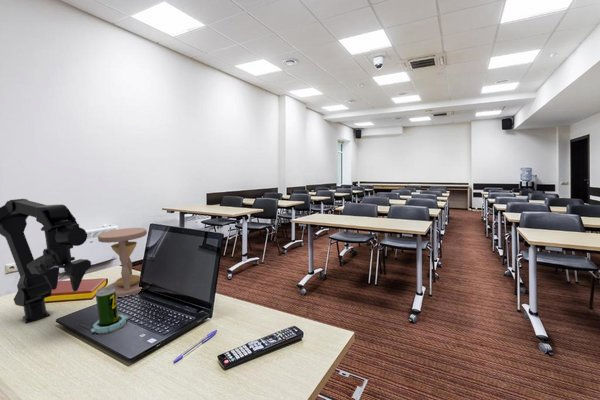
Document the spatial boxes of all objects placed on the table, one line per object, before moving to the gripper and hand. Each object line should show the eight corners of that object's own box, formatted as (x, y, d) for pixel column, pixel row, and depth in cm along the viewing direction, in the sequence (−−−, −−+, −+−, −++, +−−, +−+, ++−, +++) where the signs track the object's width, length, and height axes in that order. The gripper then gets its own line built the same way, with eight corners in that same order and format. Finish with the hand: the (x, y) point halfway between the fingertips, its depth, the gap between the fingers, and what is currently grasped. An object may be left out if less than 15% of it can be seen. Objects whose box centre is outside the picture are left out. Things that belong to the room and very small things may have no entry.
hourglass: (114, 284, 134) (107, 229, 131) (156, 279, 138) (150, 226, 135) (97, 301, 117) (89, 239, 114) (146, 294, 121) (139, 234, 118)
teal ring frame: (87, 328, 96) (87, 323, 96) (122, 315, 104) (121, 311, 104) (96, 338, 91) (96, 332, 90) (132, 324, 98) (132, 318, 98)
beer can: (97, 330, 94) (93, 294, 93) (102, 322, 99) (97, 287, 98) (117, 326, 96) (113, 291, 94) (120, 319, 101) (116, 284, 99)
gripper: (7, 250, 91) (15, 299, 93) (53, 252, 86) (61, 303, 88) (46, 241, 102) (53, 284, 104) (89, 242, 97) (95, 288, 99)
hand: (64, 290), depth 98 cm, fingers open, 9 cm apart
